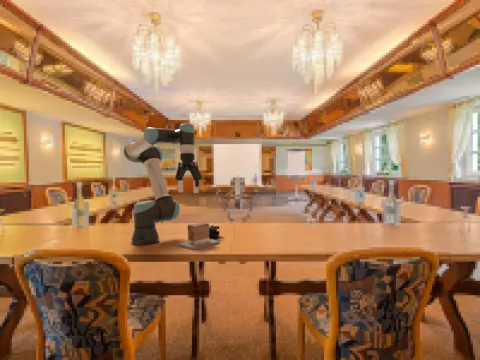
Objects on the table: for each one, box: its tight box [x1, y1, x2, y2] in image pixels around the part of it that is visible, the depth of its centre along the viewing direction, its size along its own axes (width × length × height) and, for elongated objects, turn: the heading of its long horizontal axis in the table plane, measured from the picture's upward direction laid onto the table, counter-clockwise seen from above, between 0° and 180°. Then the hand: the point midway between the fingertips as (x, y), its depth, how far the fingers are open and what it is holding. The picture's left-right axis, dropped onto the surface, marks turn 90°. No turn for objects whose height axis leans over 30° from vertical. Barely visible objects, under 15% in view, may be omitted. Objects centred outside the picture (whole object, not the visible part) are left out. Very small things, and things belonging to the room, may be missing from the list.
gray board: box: [177, 239, 221, 251], centre depth 159 cm, size 14×18×1 cm
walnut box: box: [187, 221, 210, 245], centre depth 159 cm, size 6×10×10 cm, turn 137°
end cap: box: [209, 224, 220, 240], centre depth 176 cm, size 10×7×7 cm
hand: (188, 192), depth 156 cm, fingers open, 13 cm apart
